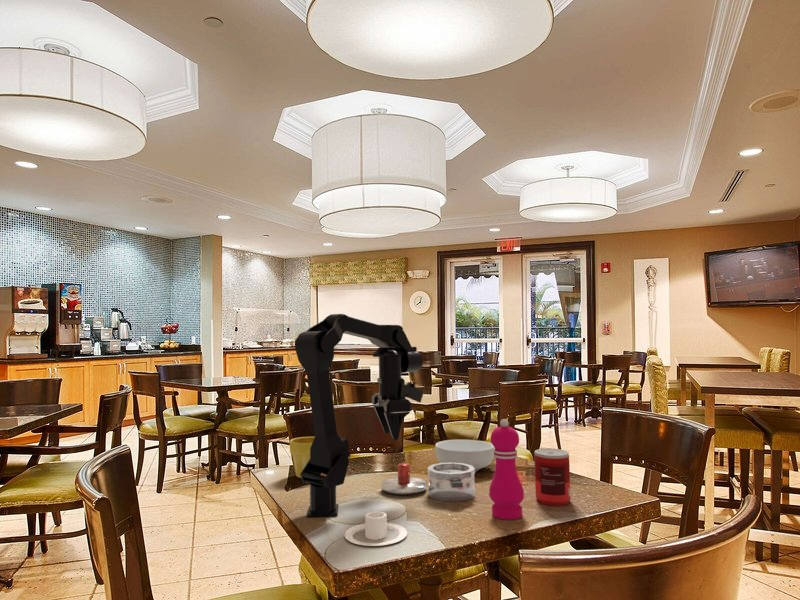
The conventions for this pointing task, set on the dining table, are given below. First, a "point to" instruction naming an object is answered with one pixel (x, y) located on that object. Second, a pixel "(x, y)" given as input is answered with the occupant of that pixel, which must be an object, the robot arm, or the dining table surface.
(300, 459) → the plant pot
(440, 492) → the pot
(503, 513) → the pepper mill
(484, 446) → the cereal bowl
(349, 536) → the candle holder
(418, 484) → the lid
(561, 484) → the canned food
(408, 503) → the dining table surface
